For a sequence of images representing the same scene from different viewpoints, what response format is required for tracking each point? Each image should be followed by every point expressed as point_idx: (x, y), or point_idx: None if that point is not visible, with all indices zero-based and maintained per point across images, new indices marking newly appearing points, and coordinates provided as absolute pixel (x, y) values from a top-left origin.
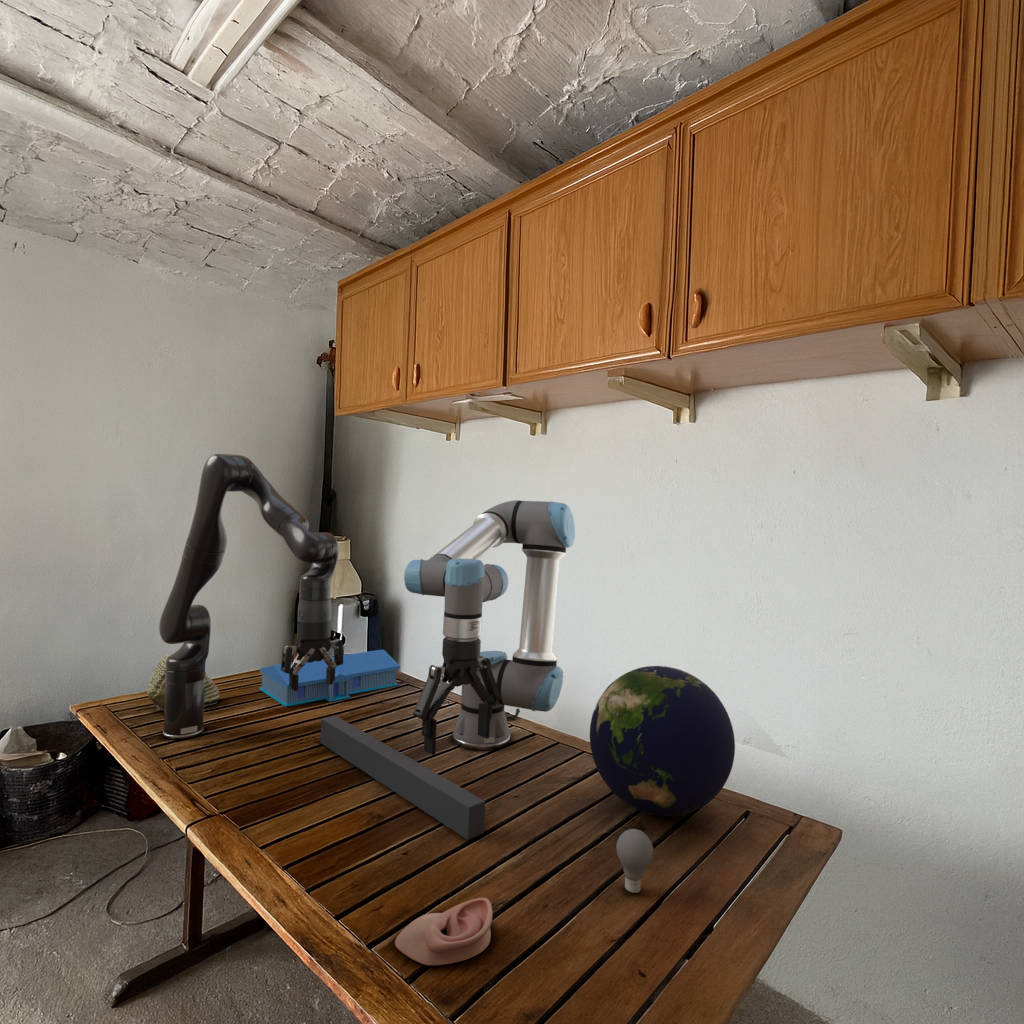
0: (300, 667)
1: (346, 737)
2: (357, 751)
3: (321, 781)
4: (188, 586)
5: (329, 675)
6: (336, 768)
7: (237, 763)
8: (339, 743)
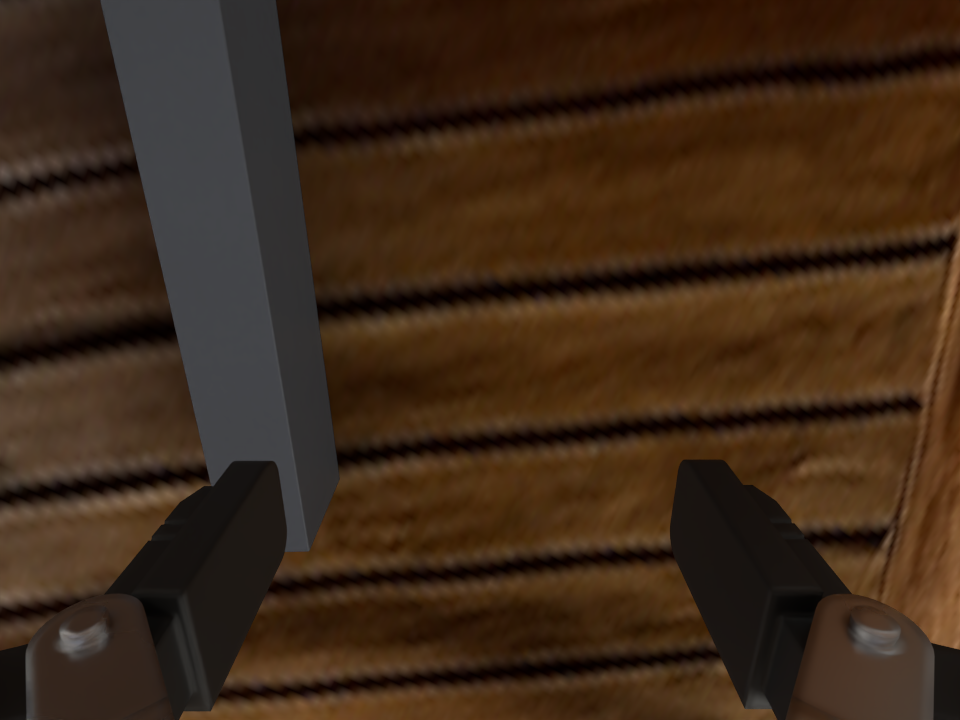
0: (819, 702)
1: (272, 277)
2: (266, 136)
3: (506, 87)
4: None
5: (234, 548)
6: (385, 185)
7: None
8: (301, 333)
